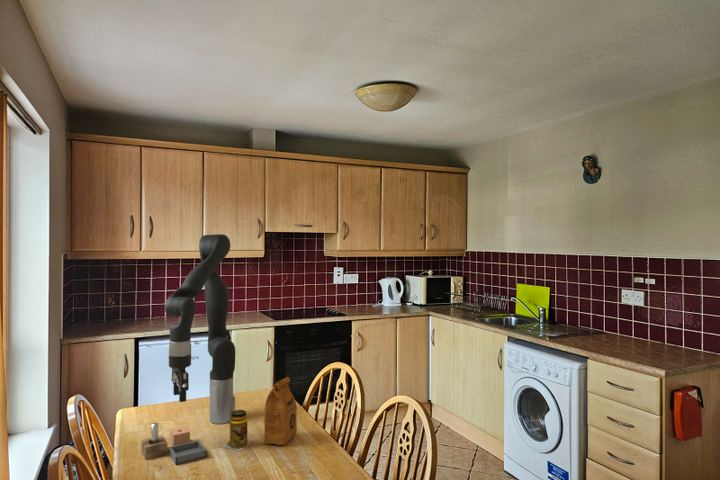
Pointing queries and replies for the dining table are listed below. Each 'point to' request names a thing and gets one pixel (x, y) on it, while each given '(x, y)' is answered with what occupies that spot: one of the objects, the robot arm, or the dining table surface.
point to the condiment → (238, 431)
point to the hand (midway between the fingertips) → (179, 398)
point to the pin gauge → (154, 433)
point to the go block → (154, 448)
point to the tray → (187, 452)
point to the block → (179, 436)
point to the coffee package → (280, 414)
